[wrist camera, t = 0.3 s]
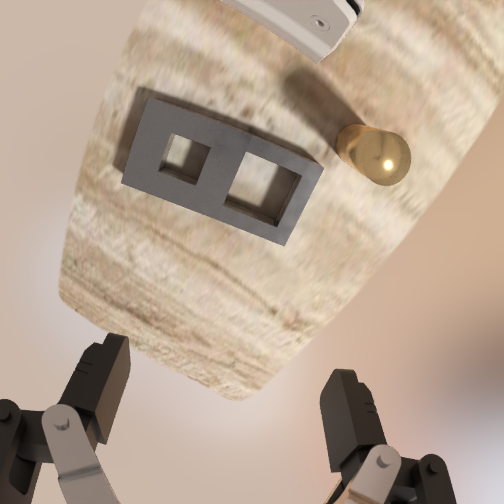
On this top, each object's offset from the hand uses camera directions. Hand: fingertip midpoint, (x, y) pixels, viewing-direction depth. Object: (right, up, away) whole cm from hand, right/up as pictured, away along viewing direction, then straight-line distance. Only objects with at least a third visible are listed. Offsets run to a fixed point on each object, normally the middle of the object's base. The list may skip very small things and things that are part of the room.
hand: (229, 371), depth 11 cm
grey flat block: (-3, +14, +24) cm, 27 cm away
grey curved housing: (+4, +32, +15) cm, 36 cm away
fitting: (+13, +17, +22) cm, 31 cm away
